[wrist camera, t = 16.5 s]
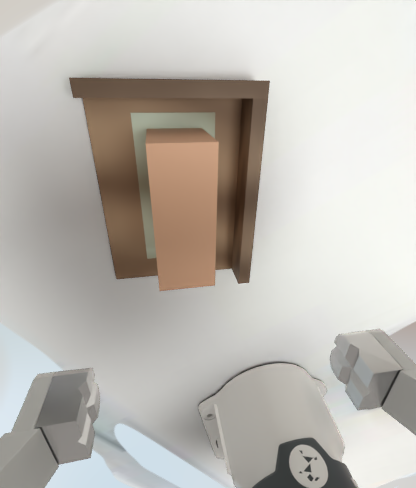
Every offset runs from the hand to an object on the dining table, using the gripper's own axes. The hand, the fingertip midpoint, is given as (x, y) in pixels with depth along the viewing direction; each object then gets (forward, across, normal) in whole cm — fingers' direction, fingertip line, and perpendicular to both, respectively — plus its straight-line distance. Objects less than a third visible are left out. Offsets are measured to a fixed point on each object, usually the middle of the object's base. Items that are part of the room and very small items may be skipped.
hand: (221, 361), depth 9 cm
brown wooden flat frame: (+16, 0, -1) cm, 17 cm away
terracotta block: (+16, 0, -1) cm, 16 cm away
